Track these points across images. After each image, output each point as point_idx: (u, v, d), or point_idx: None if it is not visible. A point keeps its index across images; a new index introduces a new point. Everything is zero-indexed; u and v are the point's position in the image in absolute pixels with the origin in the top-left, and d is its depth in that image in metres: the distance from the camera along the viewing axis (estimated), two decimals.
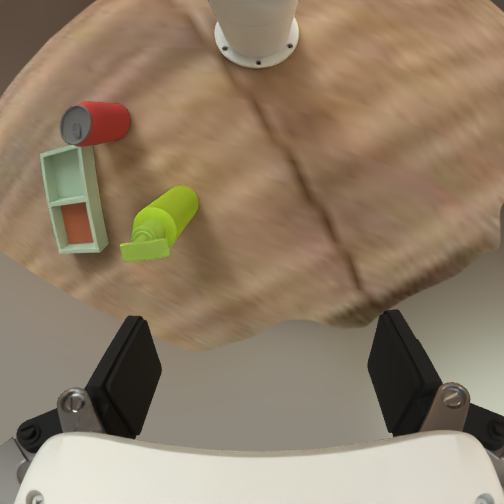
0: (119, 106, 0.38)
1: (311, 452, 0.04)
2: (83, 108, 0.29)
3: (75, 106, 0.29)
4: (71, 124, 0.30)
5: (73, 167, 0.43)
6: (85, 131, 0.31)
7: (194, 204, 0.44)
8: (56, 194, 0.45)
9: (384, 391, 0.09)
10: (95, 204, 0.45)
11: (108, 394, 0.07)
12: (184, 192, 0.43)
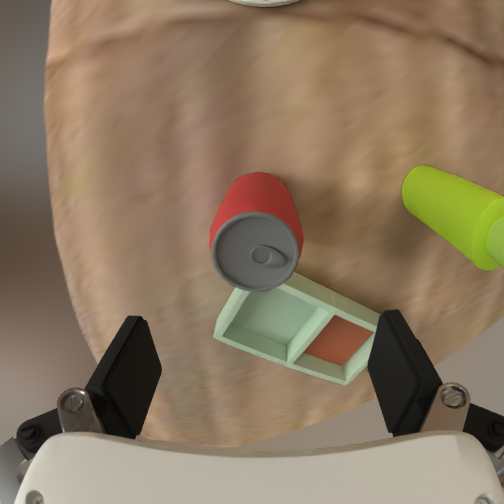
0: (248, 177, 0.26)
1: (311, 452, 0.04)
2: (240, 218, 0.18)
3: (221, 232, 0.18)
4: (246, 260, 0.19)
5: (268, 302, 0.33)
6: (285, 242, 0.18)
7: None
8: (279, 346, 0.35)
9: (384, 391, 0.09)
10: (342, 302, 0.32)
11: (108, 394, 0.07)
12: (430, 172, 0.24)
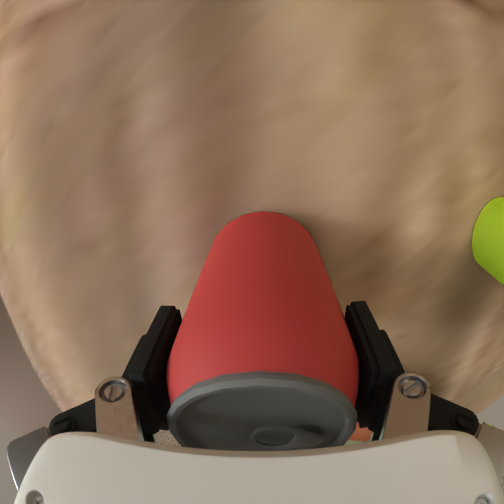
0: (247, 224, 0.14)
1: (311, 452, 0.04)
2: None
3: None
4: (243, 438, 0.08)
5: None
6: (329, 415, 0.07)
7: None
8: None
9: None
10: None
11: (149, 381, 0.08)
12: None
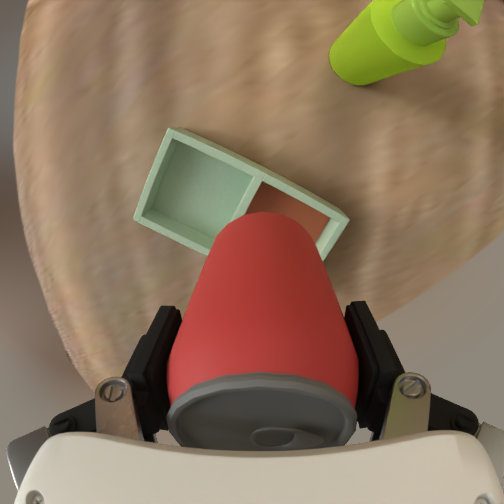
0: (247, 224, 0.14)
1: (311, 452, 0.04)
2: None
3: None
4: (242, 439, 0.08)
5: (194, 181, 0.30)
6: (329, 415, 0.07)
7: None
8: (210, 239, 0.31)
9: None
10: (275, 175, 0.28)
11: (149, 382, 0.08)
12: None
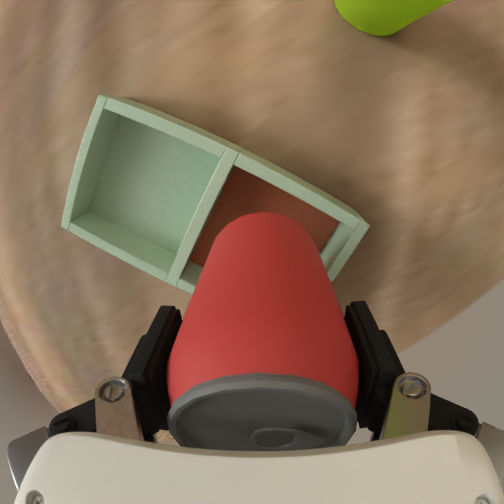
0: (247, 225, 0.14)
1: (311, 452, 0.04)
2: None
3: None
4: (242, 440, 0.08)
5: (141, 170, 0.20)
6: (329, 416, 0.07)
7: None
8: (166, 253, 0.22)
9: None
10: (256, 157, 0.18)
11: (149, 381, 0.08)
12: None
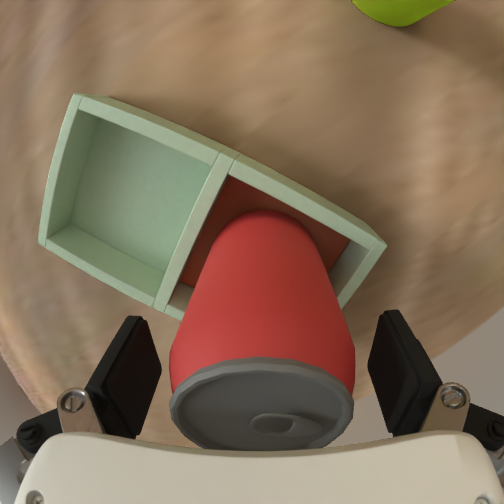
0: (247, 221, 0.15)
1: (311, 452, 0.04)
2: (226, 374, 0.07)
3: (185, 392, 0.07)
4: (243, 427, 0.08)
5: (124, 179, 0.17)
6: (327, 402, 0.07)
7: None
8: (153, 273, 0.19)
9: (384, 391, 0.09)
10: (256, 164, 0.15)
11: (108, 394, 0.07)
12: None
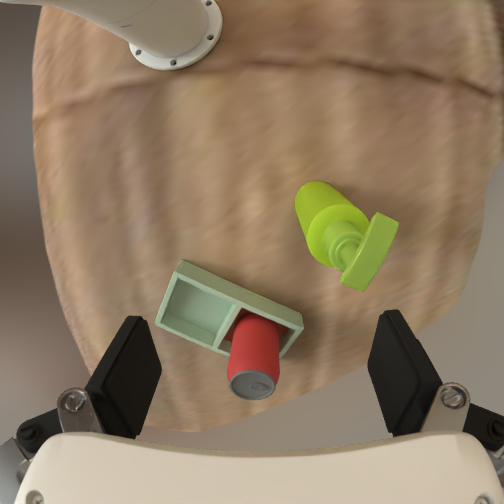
0: (249, 321, 0.40)
1: (311, 452, 0.04)
2: (244, 373, 0.32)
3: (234, 378, 0.32)
4: (247, 387, 0.33)
5: (195, 297, 0.42)
6: (268, 381, 0.32)
7: (330, 186, 0.33)
8: (209, 334, 0.44)
9: (384, 391, 0.09)
10: (252, 298, 0.41)
11: (108, 394, 0.07)
12: (310, 187, 0.33)
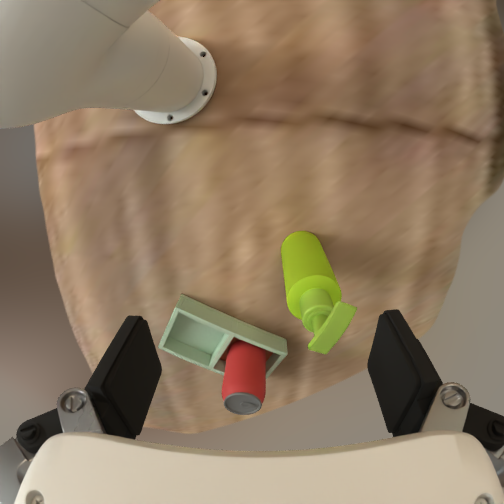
0: (240, 347, 0.46)
1: (311, 452, 0.04)
2: (235, 395, 0.37)
3: (227, 398, 0.38)
4: (238, 405, 0.39)
5: (193, 325, 0.48)
6: (255, 400, 0.38)
7: (312, 239, 0.38)
8: (205, 355, 0.49)
9: (384, 391, 0.09)
10: (243, 328, 0.46)
11: (108, 394, 0.07)
12: (294, 241, 0.38)
